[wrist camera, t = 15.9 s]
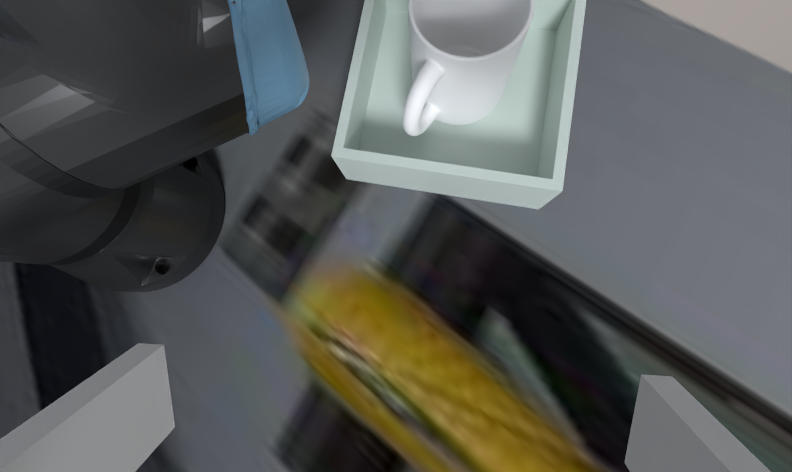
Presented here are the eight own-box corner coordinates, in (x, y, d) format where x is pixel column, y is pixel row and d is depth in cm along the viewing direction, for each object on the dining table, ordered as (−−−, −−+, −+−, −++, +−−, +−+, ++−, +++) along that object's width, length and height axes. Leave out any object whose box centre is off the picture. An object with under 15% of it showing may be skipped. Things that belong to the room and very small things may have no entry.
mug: (445, 178, 34) (454, 129, 24) (371, 129, 36) (350, 62, 25) (521, 74, 35) (560, -16, 25) (446, 29, 37) (454, -73, 26)
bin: (346, 179, 36) (331, 156, 30) (381, 10, 39) (373, -42, 33) (538, 209, 34) (562, 191, 29) (562, 30, 37) (588, -21, 31)
